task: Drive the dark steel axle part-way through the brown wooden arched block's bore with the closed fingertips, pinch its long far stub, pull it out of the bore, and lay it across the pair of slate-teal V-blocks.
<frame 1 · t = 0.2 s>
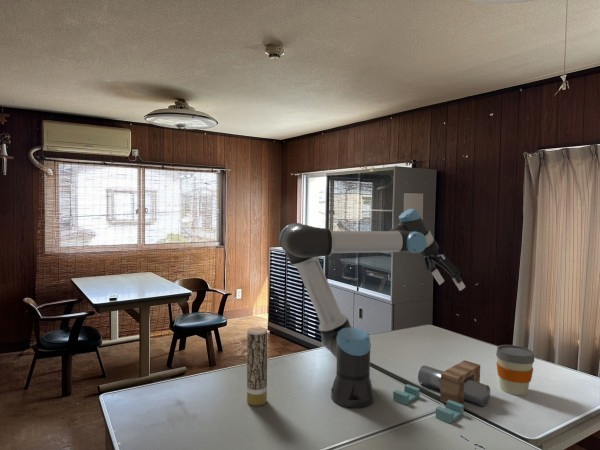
hand: (451, 285, 166), 36 cm above the table, tool tilted 35°, fingers open, 13 cm apart
steel axle: (452, 394, 148), on the table
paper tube: (256, 402, 139), on the table
reusable coffee cup: (513, 390, 151), on the table
v-blocks: (427, 406, 138), on the table
brown wooden arched block: (460, 396, 146), on the table
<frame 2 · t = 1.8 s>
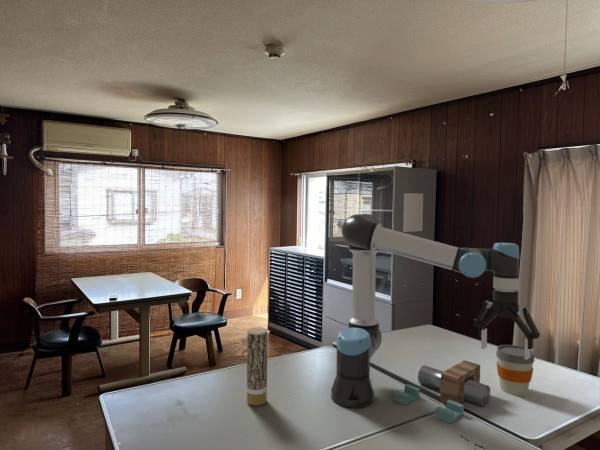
hand: (504, 353, 135), 19 cm above the table, tool pointing down, fingers open, 13 cm apart
nothing on the table moved.
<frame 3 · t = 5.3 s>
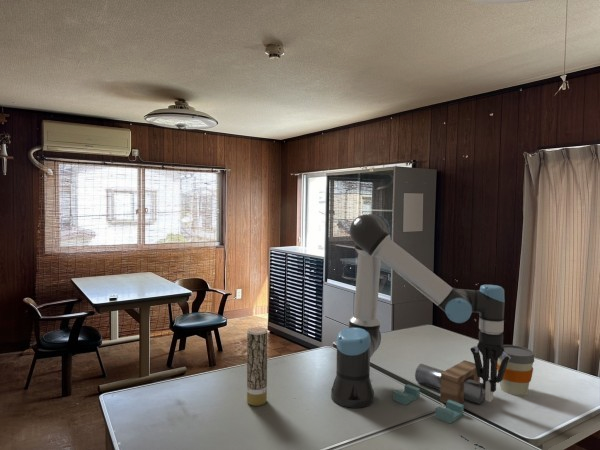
hand: (489, 399, 138), 2 cm above the table, tool pointing down, fingers closed
steel axle: (449, 392, 149), on the table, touching gripper
everything else where it was.
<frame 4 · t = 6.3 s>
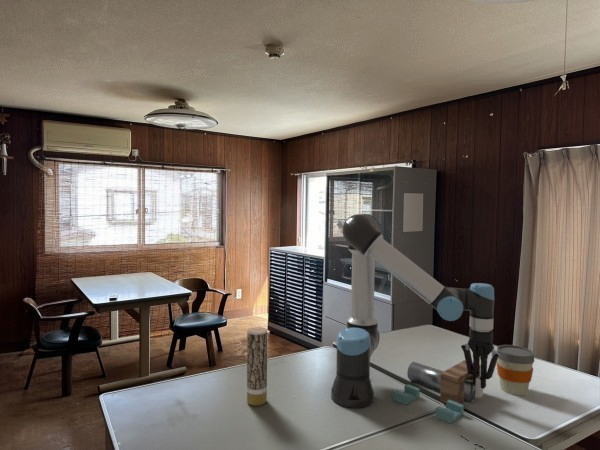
hand: (479, 396, 141), 2 cm above the table, tool pointing down, fingers closed
steel axle: (440, 389, 151), on the table
everything else where it was.
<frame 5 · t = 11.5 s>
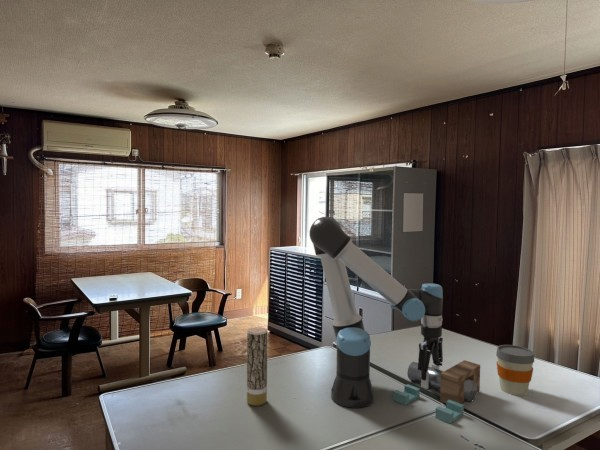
hand: (430, 384, 154), 0 cm above the table, tool pointing down, fingers open, 7 cm apart
nothing on the table moved.
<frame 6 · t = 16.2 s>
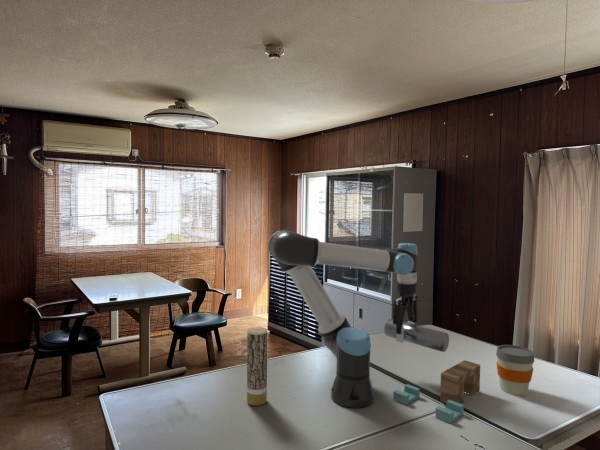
hand: (405, 339, 161), 15 cm above the table, tool pointing down, fingers closed on steel axle, 7 cm apart
steel axle: (414, 343, 158), point 15 cm above the table, touching gripper
everything else where it was.
when the fingers open (4 cm above the table, at t = 20.2 s): steel axle drops 1 cm, resting on v-blocks.
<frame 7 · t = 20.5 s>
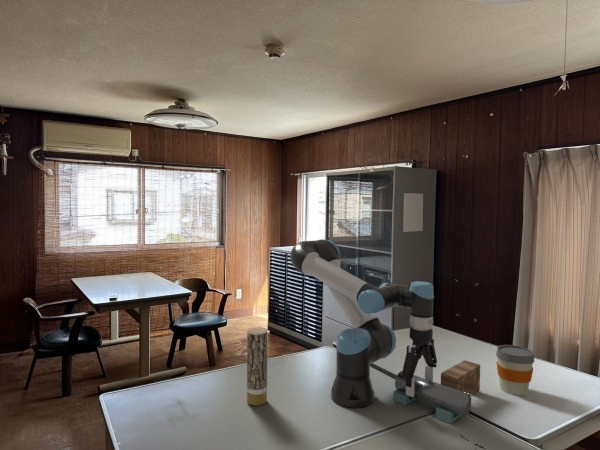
hand: (419, 390, 140), 5 cm above the table, tool pointing down, fingers open, 11 cm apart
steel axle: (430, 402, 136), point 2 cm above the table, touching v-blocks
everything else where it was.
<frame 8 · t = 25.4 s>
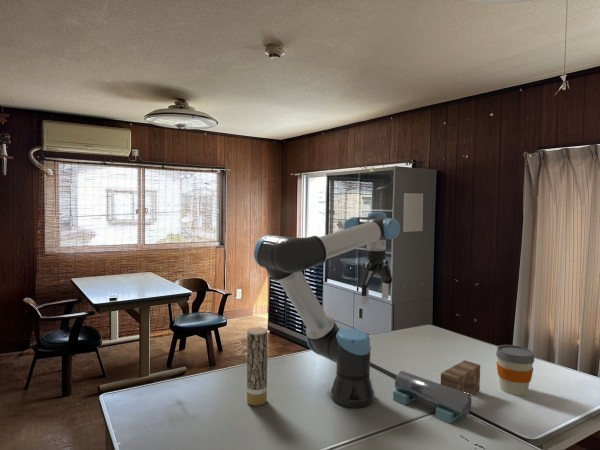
hand: (375, 301, 167), 29 cm above the table, tool pointing down, fingers open, 13 cm apart
nothing on the table moved.
at the end: steel axle inside the target area on the v-blocks (0.4 cm from its centre), point 2.0 cm above the v-blocks's base; steel axle touching v-blocks; the gripper is holding nothing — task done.
